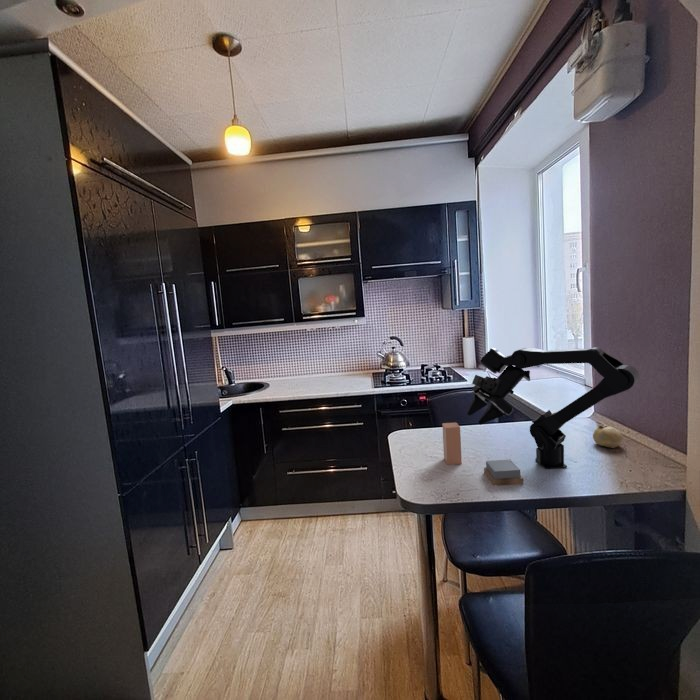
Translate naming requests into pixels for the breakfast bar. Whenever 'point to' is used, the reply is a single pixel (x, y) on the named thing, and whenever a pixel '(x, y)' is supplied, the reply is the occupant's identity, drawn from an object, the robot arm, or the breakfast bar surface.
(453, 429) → the pillar
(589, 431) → the breakfast bar surface
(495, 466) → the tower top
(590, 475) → the breakfast bar surface
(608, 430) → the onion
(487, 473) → the tower base
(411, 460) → the breakfast bar surface
